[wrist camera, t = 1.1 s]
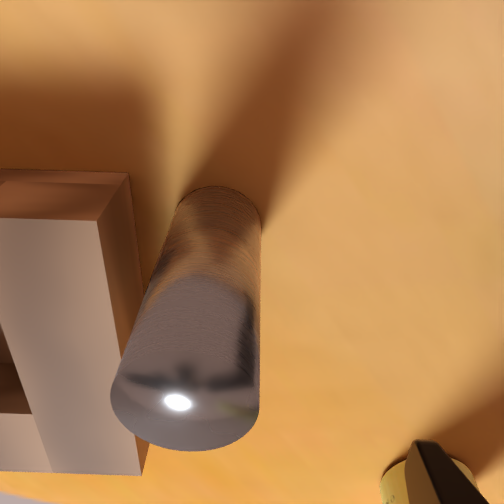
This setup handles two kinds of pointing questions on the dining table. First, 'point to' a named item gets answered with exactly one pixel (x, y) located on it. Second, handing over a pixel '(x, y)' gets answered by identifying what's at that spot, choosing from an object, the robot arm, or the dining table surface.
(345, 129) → the dining table surface
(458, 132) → the dining table surface
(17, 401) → the bore block
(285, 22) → the dining table surface
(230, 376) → the pin
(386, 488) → the tube
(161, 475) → the dining table surface
